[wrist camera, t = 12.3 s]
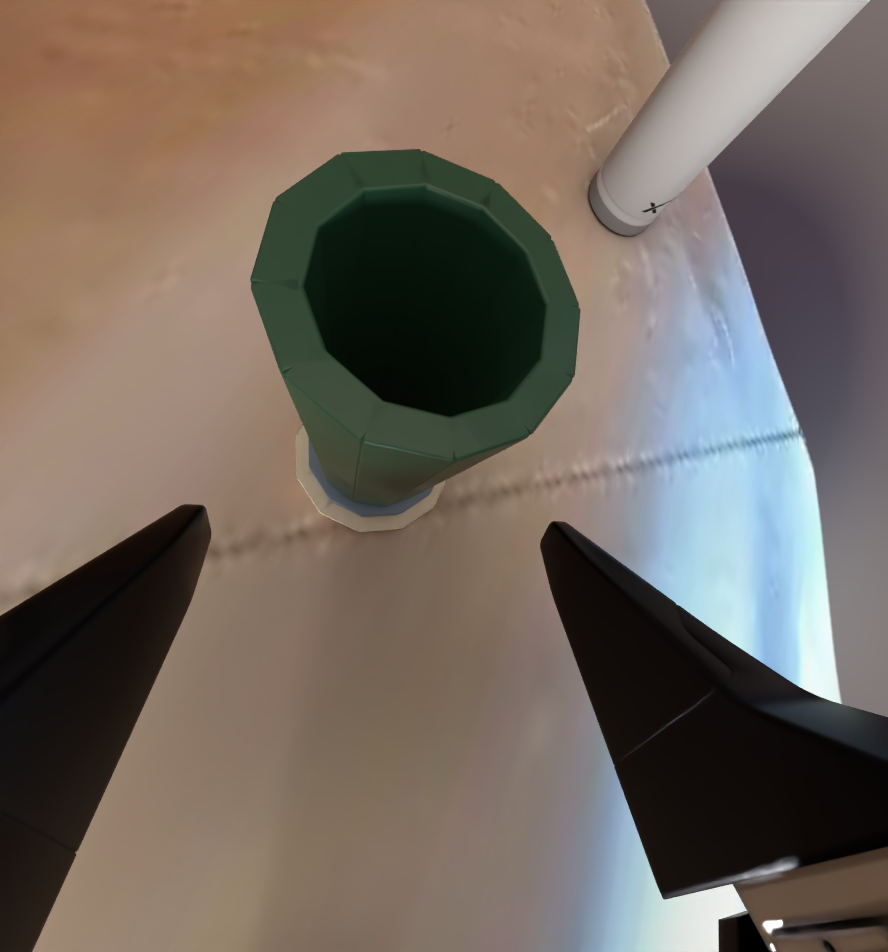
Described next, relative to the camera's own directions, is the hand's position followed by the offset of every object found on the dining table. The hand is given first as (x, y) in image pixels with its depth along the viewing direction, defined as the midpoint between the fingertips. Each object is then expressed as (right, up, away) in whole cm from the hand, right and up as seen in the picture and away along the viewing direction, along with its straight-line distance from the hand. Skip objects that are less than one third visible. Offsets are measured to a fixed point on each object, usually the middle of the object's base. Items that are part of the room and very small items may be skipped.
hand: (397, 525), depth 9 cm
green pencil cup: (-2, +3, +9) cm, 10 cm away
